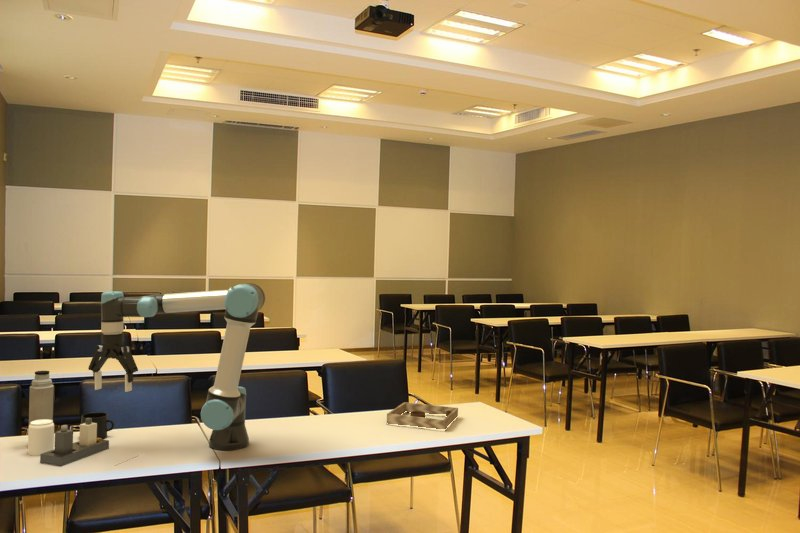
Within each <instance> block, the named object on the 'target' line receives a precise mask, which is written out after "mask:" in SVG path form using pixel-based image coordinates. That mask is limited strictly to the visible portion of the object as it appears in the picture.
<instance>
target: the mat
mask: <svg viewBox="0 0 800 533" xmlns="http://www.w3.org/2000/svg"><path fill="white" fill-rule="evenodd" d="M137 457H138V458H139V455H137V456H134V457H132V458H129V459H127V460H126V462H127V461H130V460H133V459H134V458H135V459H136V458H137ZM122 463H124V461H122V462H121V463H118V464H115V465H114V466H115V467H116V466H117V465H120V464H122Z"/></svg>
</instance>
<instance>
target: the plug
mask: <svg viewBox="0 0 800 533" xmlns="http://www.w3.org/2000/svg"><path fill="white" fill-rule="evenodd" d="M78 441H79V445H84V446H90V445H93V444H96V441H97V423H92V418H86V422H85V423H83V424H81V423H80V424H79V440H78Z"/></svg>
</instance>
